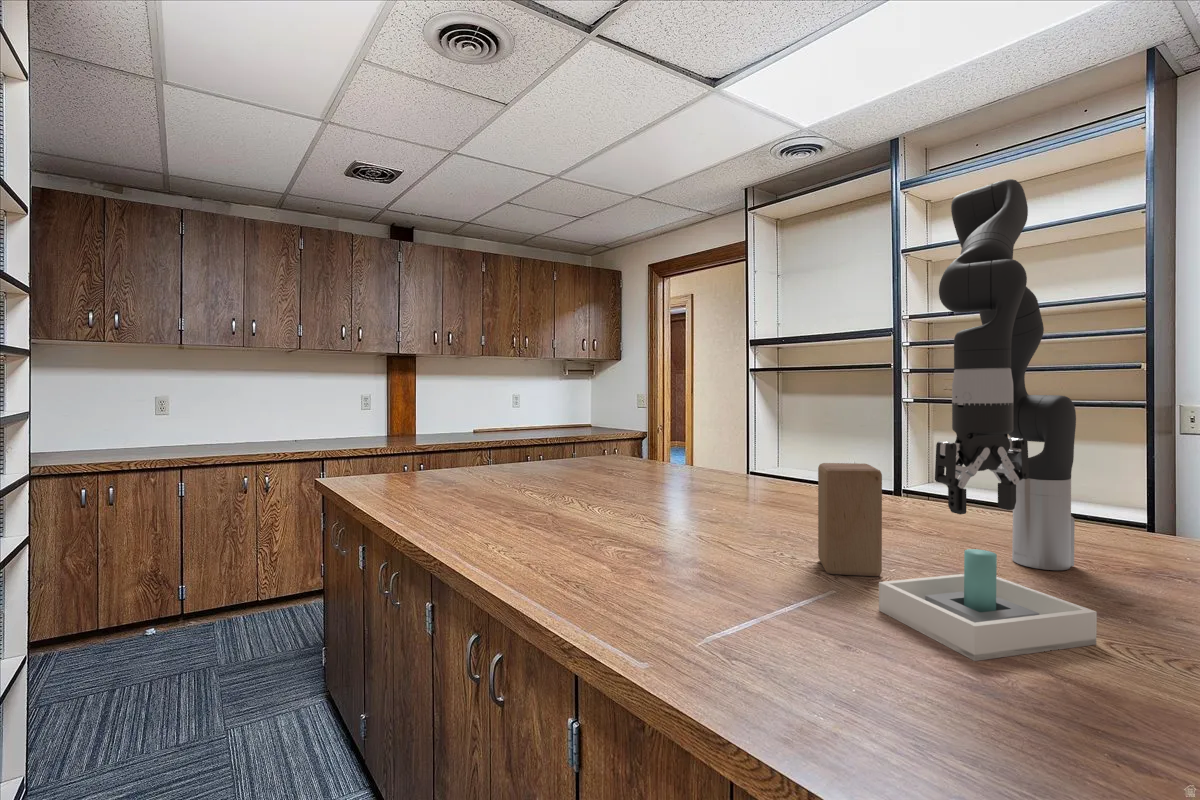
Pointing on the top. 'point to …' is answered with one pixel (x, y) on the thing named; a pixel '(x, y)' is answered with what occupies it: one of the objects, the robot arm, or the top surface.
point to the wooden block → (850, 519)
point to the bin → (988, 617)
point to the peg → (980, 580)
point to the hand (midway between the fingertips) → (982, 511)
